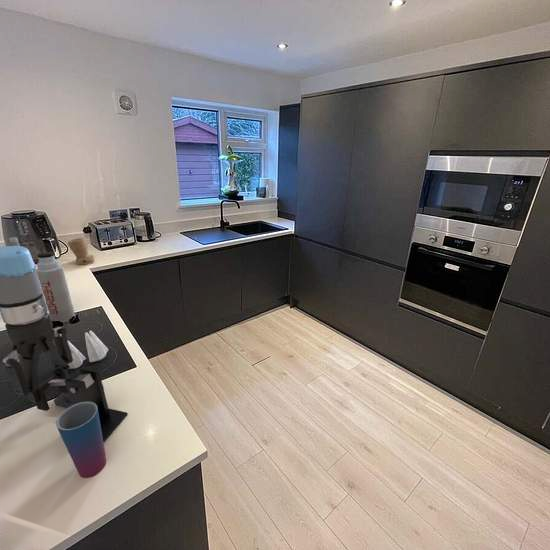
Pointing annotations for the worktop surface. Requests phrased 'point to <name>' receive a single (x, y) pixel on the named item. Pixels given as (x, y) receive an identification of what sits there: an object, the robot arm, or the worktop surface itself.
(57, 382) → the toaster lever
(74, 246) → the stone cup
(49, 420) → the worktop surface
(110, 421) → the bracket
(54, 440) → the worktop surface
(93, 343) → the shaker set
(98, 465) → the cup
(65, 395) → the button housing
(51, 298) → the thermos bottle
